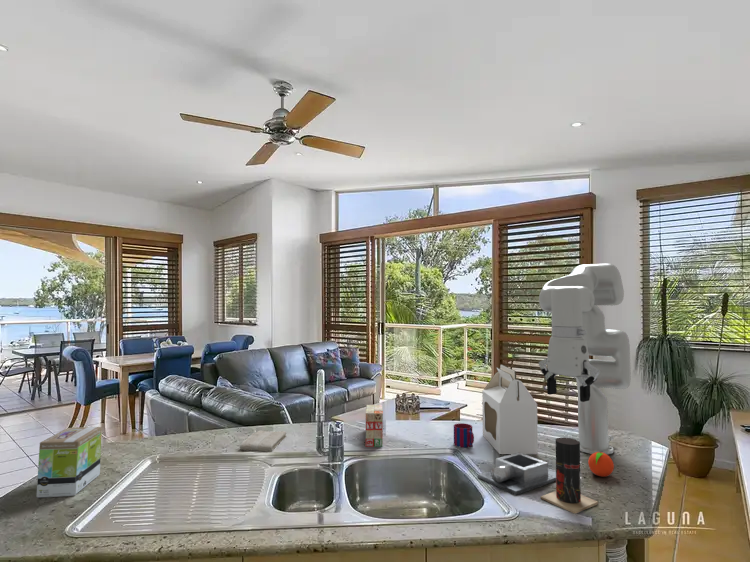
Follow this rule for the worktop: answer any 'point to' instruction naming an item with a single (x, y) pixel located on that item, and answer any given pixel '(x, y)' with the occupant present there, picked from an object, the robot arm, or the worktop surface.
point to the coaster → (573, 508)
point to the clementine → (600, 464)
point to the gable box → (509, 414)
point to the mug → (463, 435)
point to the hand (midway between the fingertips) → (567, 397)
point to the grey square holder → (519, 473)
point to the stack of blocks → (374, 426)
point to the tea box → (69, 461)
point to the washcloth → (263, 440)
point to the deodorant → (568, 470)
